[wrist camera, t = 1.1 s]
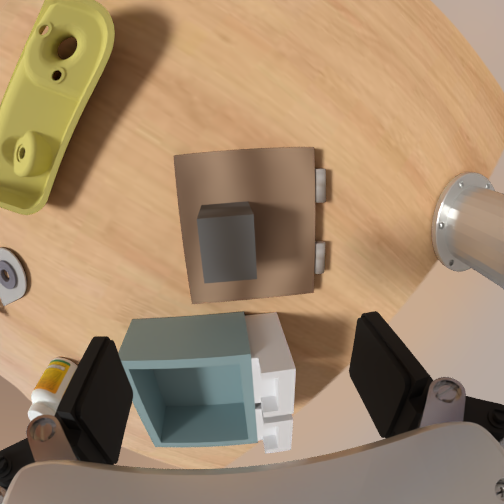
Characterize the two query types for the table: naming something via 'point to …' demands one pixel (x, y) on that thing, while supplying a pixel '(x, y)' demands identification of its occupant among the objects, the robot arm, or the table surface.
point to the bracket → (11, 277)
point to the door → (250, 222)
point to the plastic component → (49, 99)
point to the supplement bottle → (51, 387)
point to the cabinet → (212, 380)
